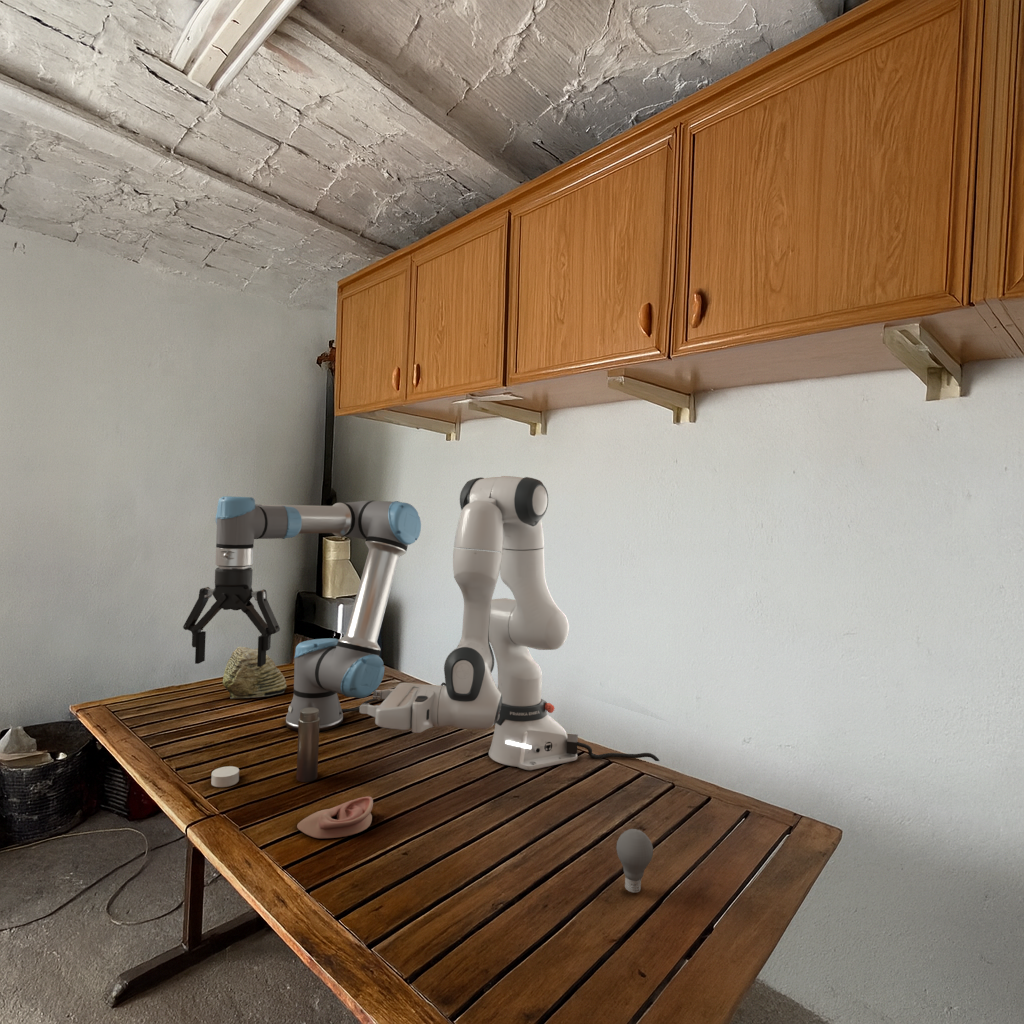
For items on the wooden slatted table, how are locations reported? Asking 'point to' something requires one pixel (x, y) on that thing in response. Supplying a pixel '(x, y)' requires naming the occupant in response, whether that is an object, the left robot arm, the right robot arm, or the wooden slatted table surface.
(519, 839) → the wooden slatted table surface
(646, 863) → the light bulb
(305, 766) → the metal cylinder
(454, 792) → the wooden slatted table surface
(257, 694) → the fossil
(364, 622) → the left robot arm
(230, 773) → the lid
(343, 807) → the anatomical model
